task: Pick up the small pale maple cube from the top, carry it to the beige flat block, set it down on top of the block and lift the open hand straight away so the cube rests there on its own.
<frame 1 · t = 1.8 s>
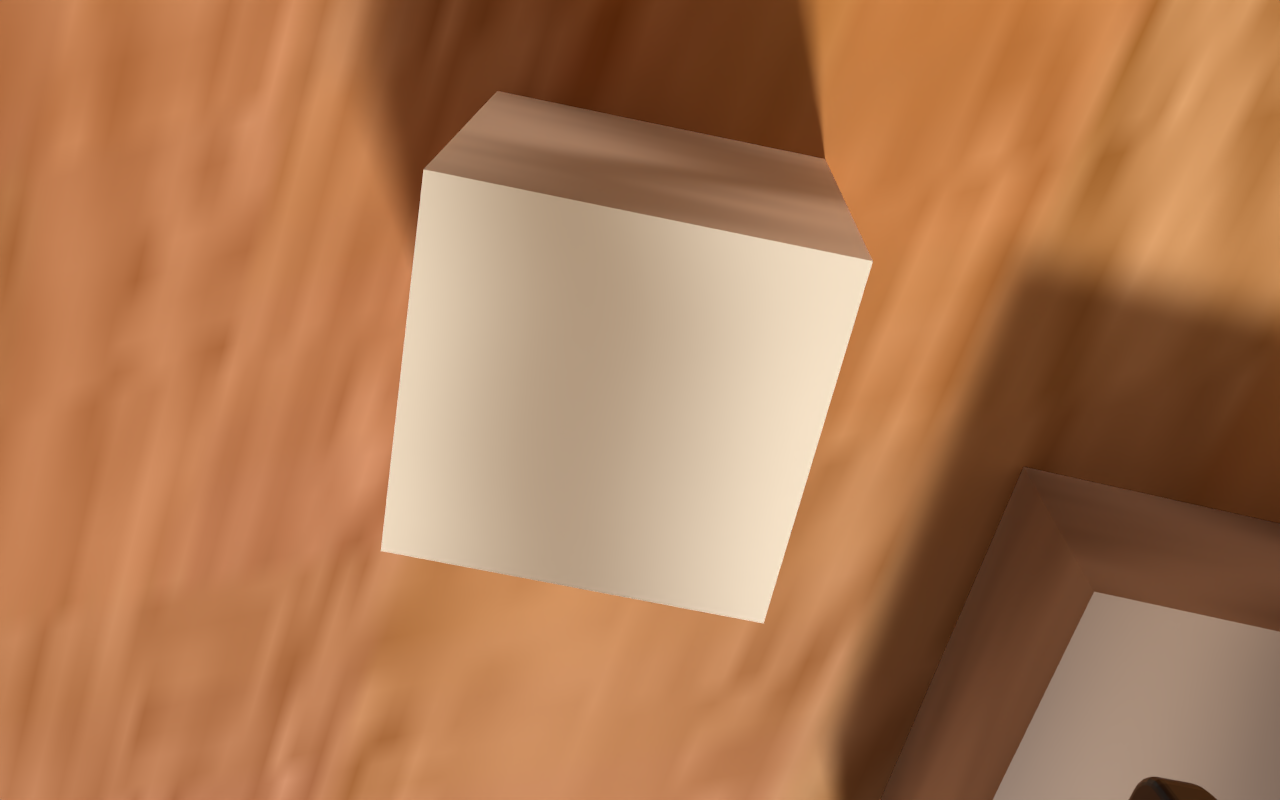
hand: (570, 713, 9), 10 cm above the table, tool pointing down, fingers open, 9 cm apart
maple cube: (630, 278, 18), on the table
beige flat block: (1170, 732, 21), on the table
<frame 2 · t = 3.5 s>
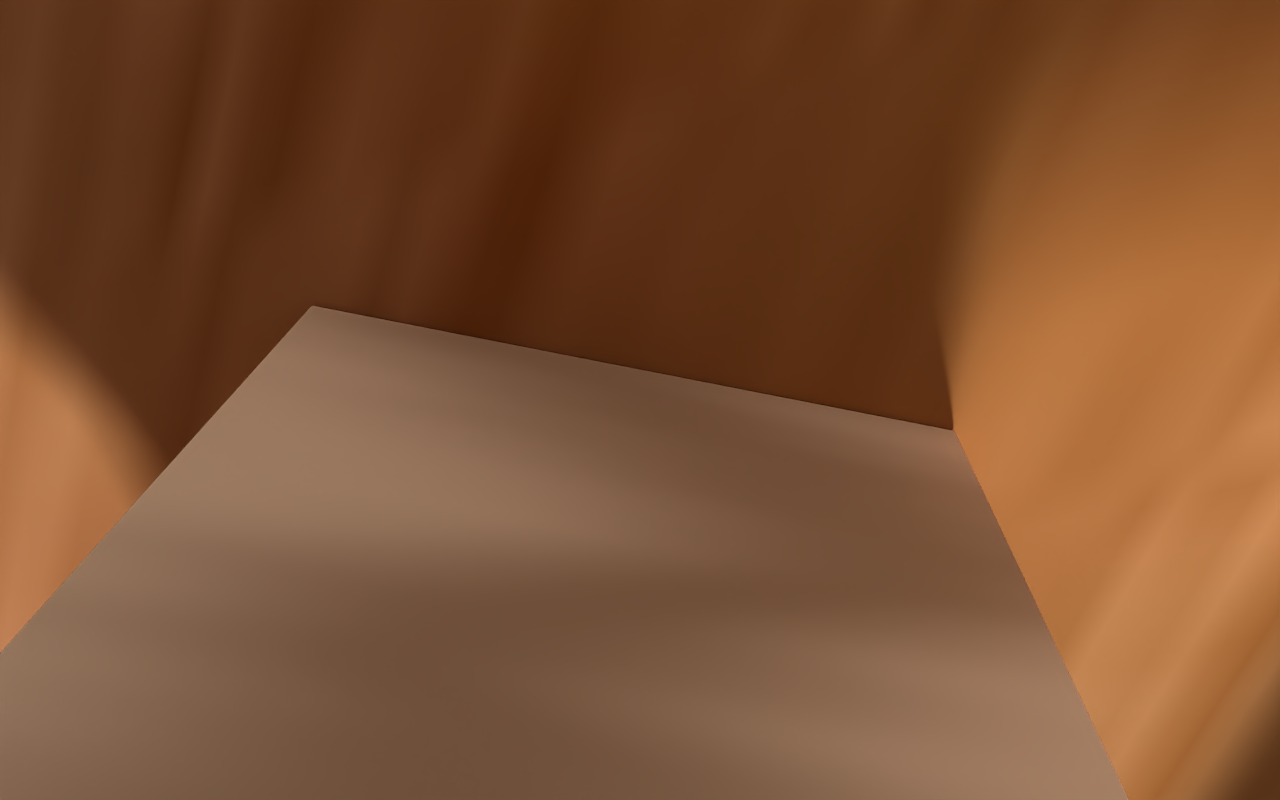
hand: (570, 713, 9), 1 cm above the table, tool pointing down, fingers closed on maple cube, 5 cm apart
maple cube: (582, 629, 9), on the table, touching gripper
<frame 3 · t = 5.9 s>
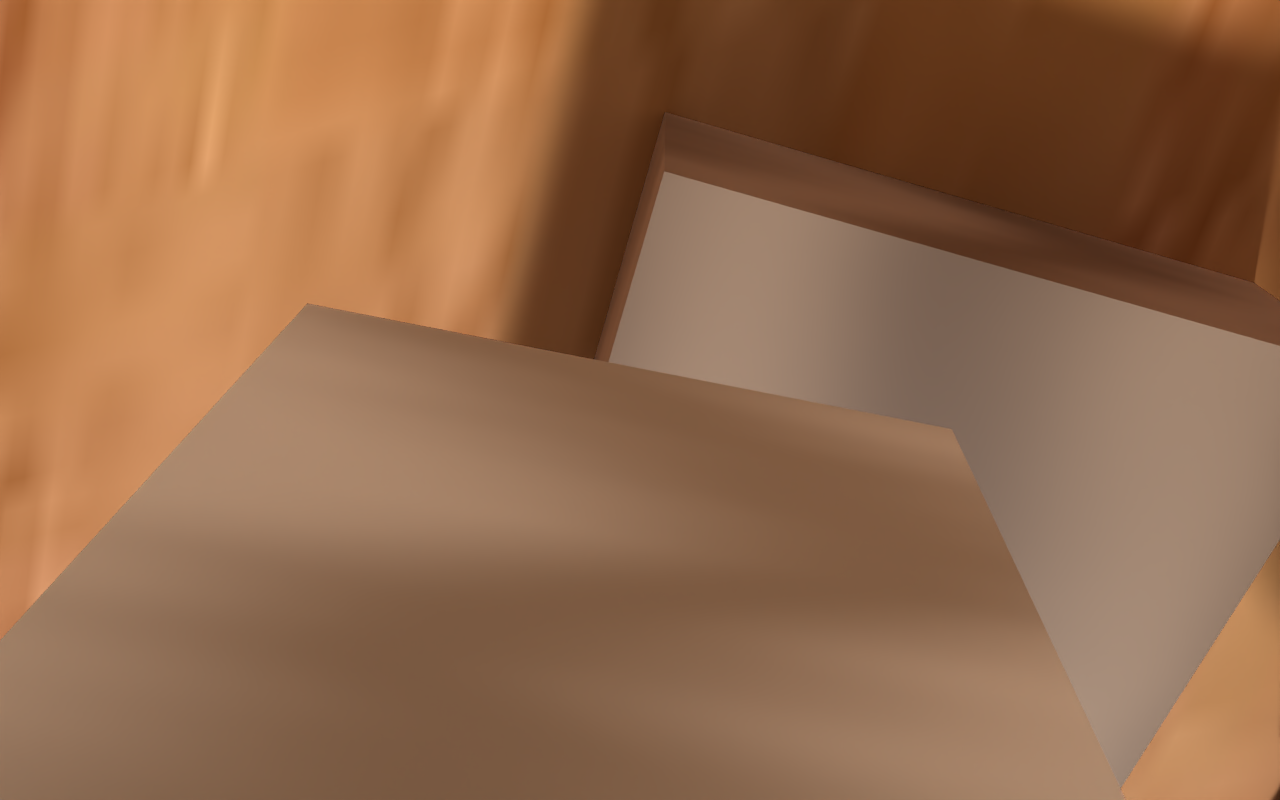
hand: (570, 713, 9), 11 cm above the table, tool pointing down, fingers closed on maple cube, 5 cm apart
maple cube: (579, 628, 9), point 10 cm above the table, touching gripper
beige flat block: (853, 454, 20), on the table
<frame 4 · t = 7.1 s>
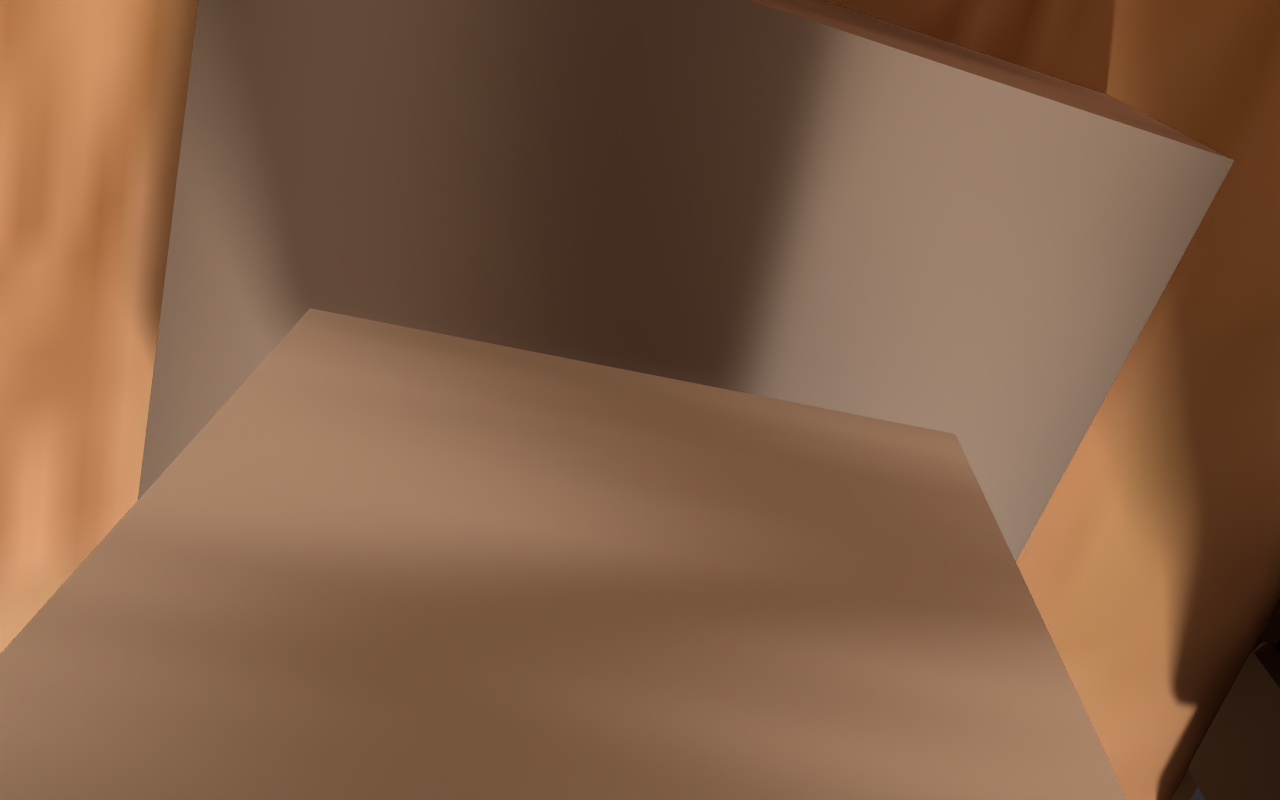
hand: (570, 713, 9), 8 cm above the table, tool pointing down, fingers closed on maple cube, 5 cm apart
maple cube: (581, 632, 9), point 7 cm above the table, touching gripper
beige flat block: (620, 320, 16), on the table
when the fingers open (6 cm above the table, at t = 8.2 s): maple cube drops 2 cm, point 4 cm above the table.
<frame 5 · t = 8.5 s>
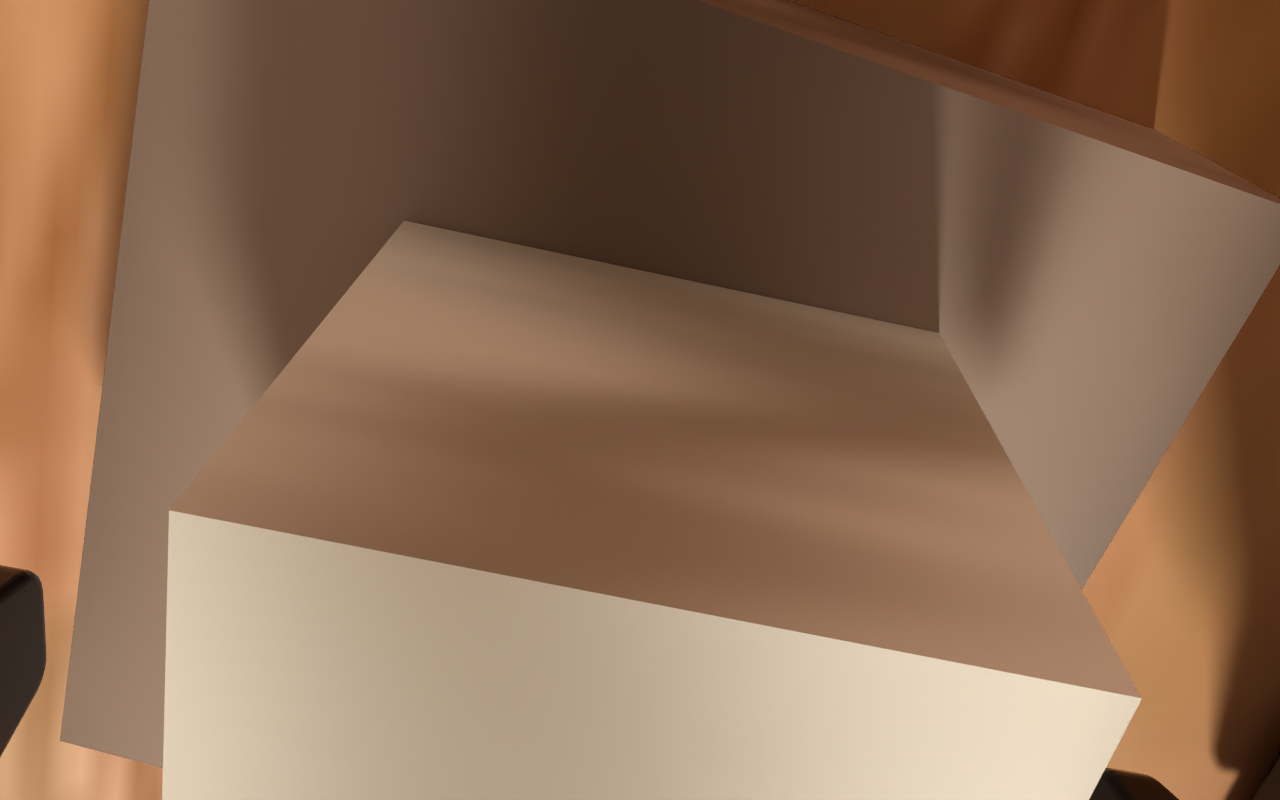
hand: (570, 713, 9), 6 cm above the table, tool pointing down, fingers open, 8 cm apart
maple cube: (621, 507, 11), point 4 cm above the table
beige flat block: (618, 360, 15), on the table
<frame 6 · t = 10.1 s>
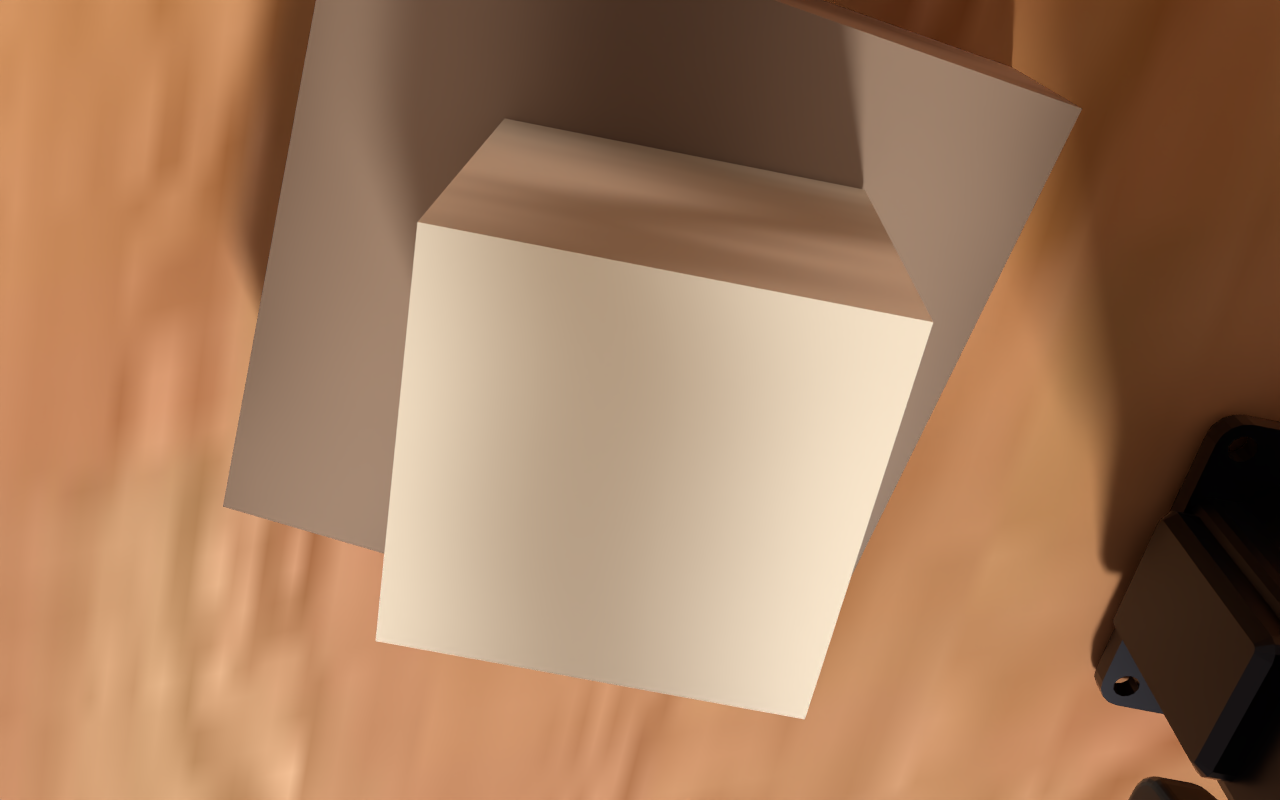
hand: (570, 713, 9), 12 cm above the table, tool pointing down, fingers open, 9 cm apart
maple cube: (651, 322, 16), point 4 cm above the table
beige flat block: (624, 245, 20), on the table
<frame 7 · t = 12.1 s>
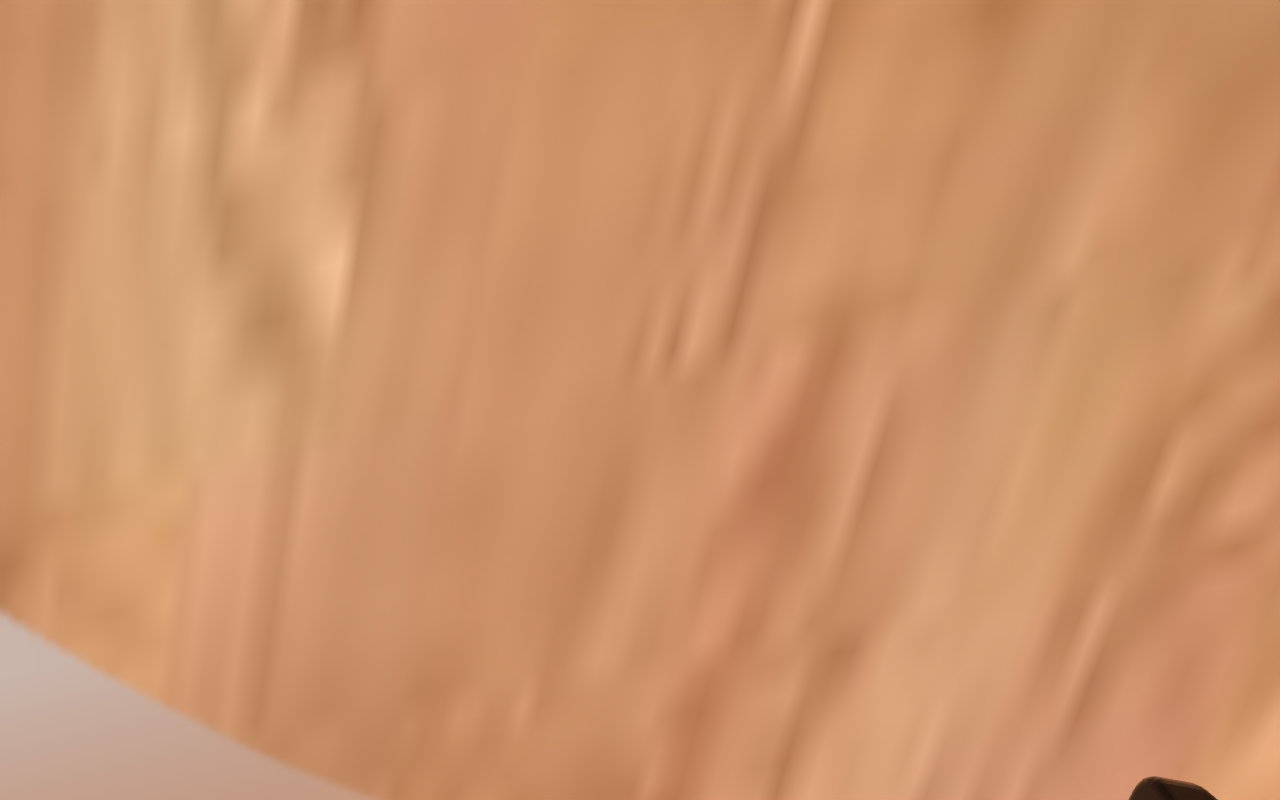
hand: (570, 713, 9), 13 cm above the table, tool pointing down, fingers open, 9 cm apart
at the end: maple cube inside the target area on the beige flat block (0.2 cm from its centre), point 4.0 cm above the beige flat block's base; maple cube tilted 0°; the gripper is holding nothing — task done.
